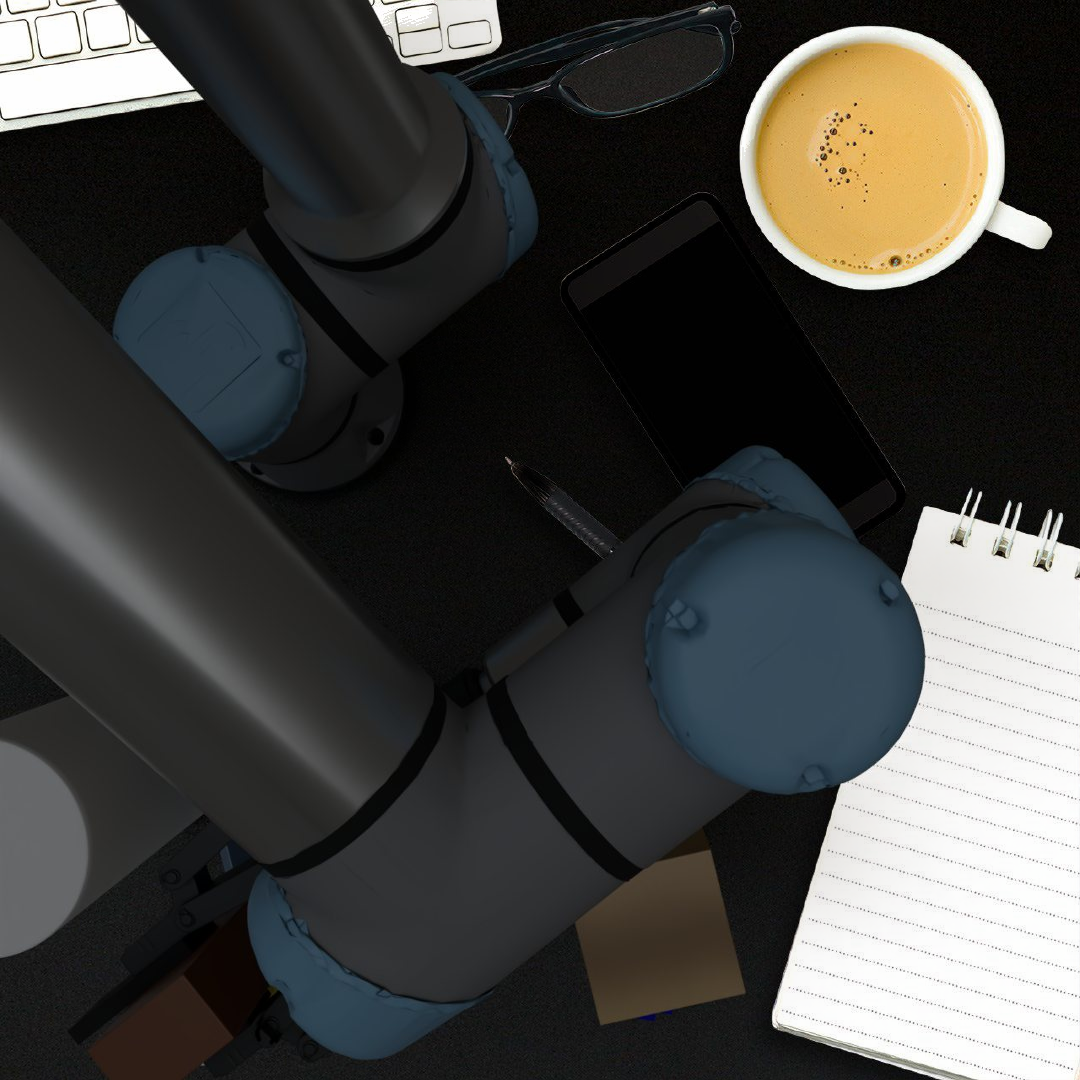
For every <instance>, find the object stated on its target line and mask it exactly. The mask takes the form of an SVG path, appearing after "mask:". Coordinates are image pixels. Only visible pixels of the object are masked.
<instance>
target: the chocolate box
mask: <svg viewBox="0 0 1080 1080" xmlns="http://www.w3.org/2000/svg"><path fill="white" fill-rule="evenodd" d="M247 914H248V902H246V903H244V904H242V905H240V906H239V907H237V908H235V909H233V910H231V911H230V912H228V913H226V914H224V915H222V916H221V917H219V918H217V919H215V920H213V921H214V922H215V924H216V925H217V927H216V928H215V929H214V930H213V931H212V933H211V934H210V935H209V936H208V937H207V938H206V939H205V940H204V941H203V943H202V944H201V945H200V946H199V947H198V948H197V949H196V950H195V952H194V953H193V954H191V955H190V956H189V957H188V958H186V959H185V960H184V961H183V962H181V963H180V964H179V965H178V966H176V967H175V968H174V969H173V970H171V971H170V972H169V973H168V974H166V975H165V976H164V977H163V978H161V979H160V980H159V981H158V982H156V983H155V984H154V985H153V986H151V987H150V988H149V989H148V990H146V991H145V992H144V993H143V994H141V995H140V996H139V997H138V998H136V999H135V1000H134V1001H132V1002H131V1003H130V1004H129V1005H128V1006H127V1007H126V1008H125V1009H123V1010H122V1011H121V1012H120V1013H119V1015H118V1016H116V1018H115V1020H113V1022H112V1023H110V1025H108V1027H107V1028H106V1029H105V1030H104V1031H103V1032H102V1033H101V1034H100V1035H99V1037H97V1038H96V1040H95V1041H94V1042H93V1043H92V1044H91V1045H90V1046H89V1047H88V1048H87V1050H86V1053H87V1054H88V1055H89V1057H90V1058H91V1059H92V1060H93V1062H94V1063H95V1064H96V1065H97V1067H98V1069H100V1070H101V1072H102V1073H103V1074H104V1076H105V1077H106V1078H107V1079H108V1080H184V1079H185V1078H187V1077H188V1076H189V1075H190V1074H192V1073H193V1072H194V1071H195V1070H197V1069H198V1068H199V1067H201V1066H200V1065H202V1064H203V1063H204V1062H205V1061H207V1060H208V1059H209V1058H210V1057H212V1056H213V1055H214V1054H216V1053H217V1052H218V1051H219V1050H221V1049H222V1048H223V1047H224V1046H226V1045H227V1044H228V1043H230V1042H231V1041H232V1040H233V1039H234V1038H235V1037H236V1035H237V1034H238V1032H239V1031H240V1029H241V1028H242V1026H243V1025H244V1023H245V1022H246V1020H247V1019H248V1017H249V1016H250V1014H251V1013H252V1011H253V1010H254V1008H255V1007H256V1005H257V1004H258V1002H259V1001H260V999H261V998H262V996H263V995H264V993H265V992H266V991H267V989H268V988H269V986H270V985H269V983H268V982H267V980H266V979H265V977H264V975H263V973H262V971H261V970H260V967H259V965H258V962H257V959H256V956H255V953H254V950H253V947H252V945H251V941H250V936H249V931H248V922H247ZM191 1072H192V1073H191Z"/></svg>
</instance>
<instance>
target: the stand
mask: <svg viewBox="0 0 1080 1080" xmlns="http://www.w3.org/2000/svg"><path fill="white" fill-rule="evenodd" d="M574 926H575V929H576V933H577V938H578V942H579V946H580V950H581V954H582V958H583V962H584V966H585V970H586V974H587V978H588V982H589V986H590V990H591V994H592V999H593V1002H594V1007H595V1010H596V1015H597V1018H598V1022H599V1025H600V1026H604V1025H608V1024H614V1023H619V1022H623V1021H627V1020H631V1019H637V1018H636V1017H641V1016H645V1015H650V1014H655V1013H656V1014H660V1012H664V1011H668V1010H673V1011H674V1010H678V1009H682V1008H686V1007H687V1008H688V1007H690V1006H695V1005H699V1004H705V1003H709V1002H714V1001H718V1000H722V999H727V998H732V997H736V996H740V995H746V994H747V991H746V987H745V983H744V980H743V976H742V970H741V967H740V962H739V958H738V955H737V951H736V946H735V943H734V939H733V933H732V931H731V926H730V923H729V918H728V914H727V910H726V906H725V902H724V898H723V894H722V890H721V886H720V882H719V878H718V874H717V869H716V865H715V862H714V858H713V853H712V850H711V847H710V844H709V841H708V839H707V836H706V833H705V830H704V828H703V827H701V828H700V829H699V830H697V831H696V832H695V833H694V834H692V835H691V836H690V837H688V838H687V839H686V840H684V841H683V842H682V843H680V844H679V845H678V846H676V847H675V848H674V849H672V850H671V851H670V852H668V853H667V854H666V855H665V856H663V857H662V858H661V859H659V860H658V861H657V862H655V863H654V864H653V865H651V866H650V867H649V868H647V869H644V870H642V871H641V872H640V873H639V874H637V875H636V876H635V877H633V878H632V879H630V881H628V882H625V883H624V884H623V885H621V886H620V887H619V888H618V889H616V890H615V891H614V892H613V893H611V894H610V895H609V896H607V897H606V898H605V899H604V900H602V901H601V902H600V903H599V904H597V905H596V906H595V907H594V908H592V909H591V910H590V911H589V912H587V913H586V914H585V915H583V916H582V917H581V918H580V919H578V920H577V921H576V922H575V923H574Z"/></svg>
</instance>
